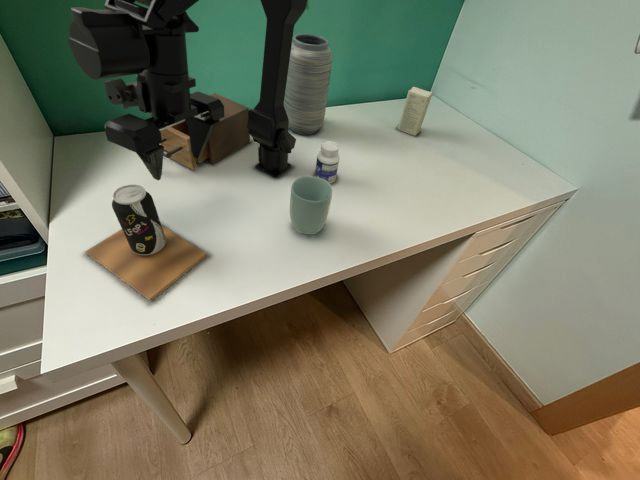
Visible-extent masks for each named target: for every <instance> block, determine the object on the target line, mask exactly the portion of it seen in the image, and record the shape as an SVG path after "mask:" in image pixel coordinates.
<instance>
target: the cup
mask: <svg viewBox="0 0 640 480" xmlns="http://www.w3.org/2000/svg"><path fill="white" fill-rule="evenodd" d="M289 197H290V198H289V219H290V223H291V225H292V227H293V228H294V229H295V231H297V232H298V233H300V234H304V235H315V234H318V233H319V232H320V231H321V230H322V229H323V228H324V226H325V224H326V222H327V220H328V217H329V213H330V208H331V204H332V198H333V187H332V184H331V183H328V182H327V181H326V180H324V179H322V178H319V177H315V175H303V176H300V177H298V178H296V179H295V180H293V182H292V184H291V187H290V196H289Z"/></svg>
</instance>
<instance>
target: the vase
mask: <svg viewBox="0 0 640 480" xmlns="http://www.w3.org/2000/svg"><path fill="white" fill-rule="evenodd" d="M329 45H330V44H329V40H328V39H327V38H325V37H324V36H321V35H317V34H313V33H312V34H311V33H297V34H295V35H293V38H292V46H291V53H290V61H289V68H288V76H287V83H286V90H285V98H284V108H285V110H286V113H287V116H288V119H289V130H291V131H292V132H294V133H296V134H299V135H312V134H315V133H316V132H317V131H318V130H319V129H321V128H322V126H323V125H324V122H325V118H326V117H325V116H326V110H327V103H328V94H329V87H330V81H331V73H332V67H333V60H334V59H333V51H332V50H331V48H330V47H329Z"/></svg>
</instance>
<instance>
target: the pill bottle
mask: <svg viewBox="0 0 640 480" xmlns="http://www.w3.org/2000/svg"><path fill="white" fill-rule="evenodd" d="M339 147H340V146H339V144H337V142H334V141H329V140H328V141H327V140H326V141H323V142H322V143H321V146H320V150H319V151H318V153H317V155H316V162H315V170H314V177H319V178H322V179H324V180H326V181H327V182H328V183H329V184H333V183H334V182H335V181H336V179H337V173H338V168H339V165H340V164H339V163H340V154H339V150H340V148H339Z"/></svg>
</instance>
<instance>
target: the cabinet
mask: <svg viewBox="0 0 640 480" xmlns="http://www.w3.org/2000/svg"><path fill="white" fill-rule="evenodd" d="M209 95H210V96H212V97H215V98H218V99H220V101H221V102H222V104H223V105H224V117H223V118H221V119H219V120H220V122H219V124H217V125H216V127H215V129H214V131H213V132H212V134H211V136H210V138H209V140H208V142H207V143H208V150H209V158H208V159H206V160H204V161H205V162H207V163H209V164H211V165H215V164H216V163H218V162H220V161H222V160H224V159H225V158H227V157H228V156H230V155H232V154H234V153H235V152H237V151H238V150H240V149H242V148H243V147H246V146H247V145H249V144H250V143H251V135H250V134H249V129H248V128H247V124H248V112H249V110H250V108H249V107H248V106H246V105H243V104H241V103H239V102H237V101H234V100H232V99H229V98H227V97H225V96H223V95H220V94H218V93H216V92H215V93H212V94H209Z"/></svg>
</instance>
